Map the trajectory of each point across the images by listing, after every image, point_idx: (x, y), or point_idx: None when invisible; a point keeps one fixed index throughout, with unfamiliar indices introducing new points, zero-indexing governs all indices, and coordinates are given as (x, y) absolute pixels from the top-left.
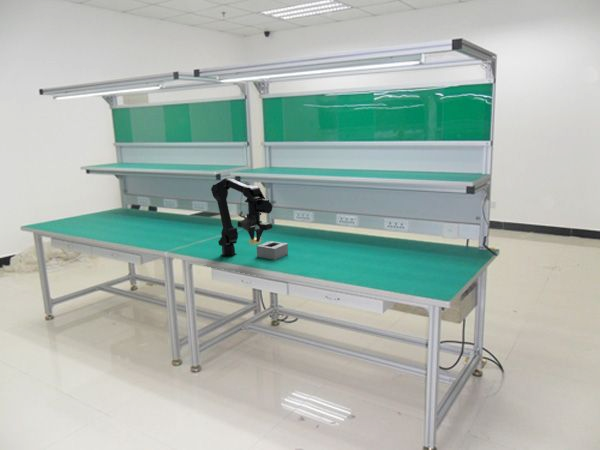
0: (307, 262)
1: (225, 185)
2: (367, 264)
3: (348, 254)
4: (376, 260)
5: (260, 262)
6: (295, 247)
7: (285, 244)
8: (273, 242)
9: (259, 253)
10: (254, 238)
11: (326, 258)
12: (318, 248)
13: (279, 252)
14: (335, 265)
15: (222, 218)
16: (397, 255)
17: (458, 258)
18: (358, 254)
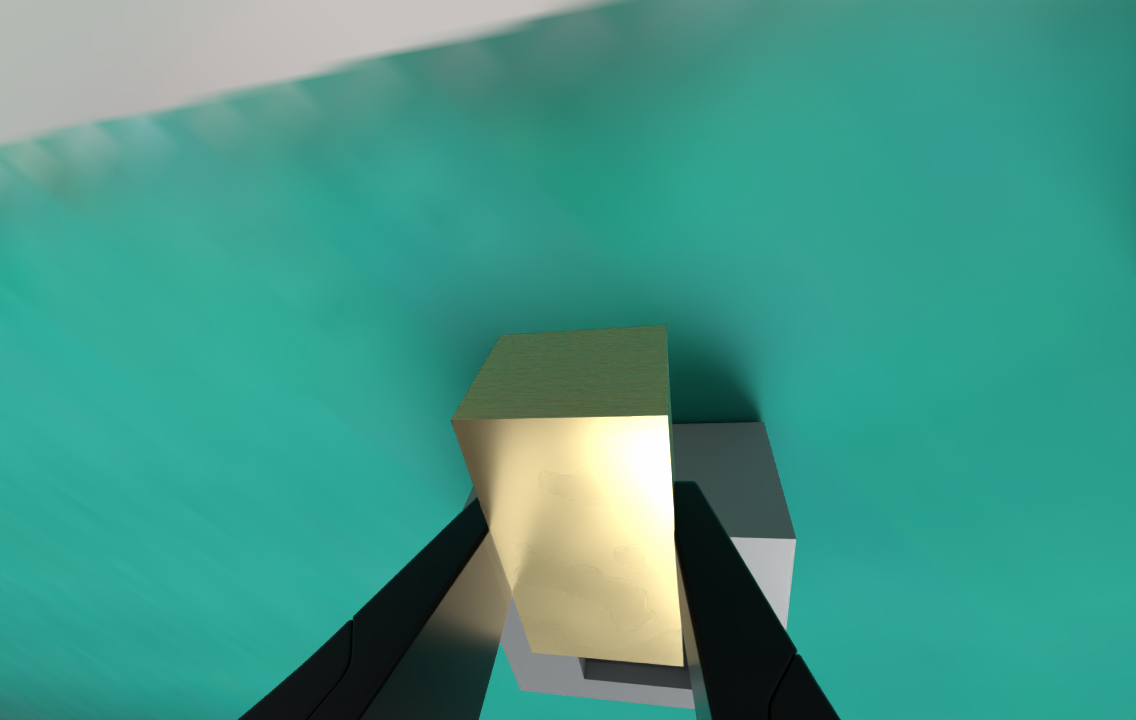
0: (261, 494)
1: None
2: (58, 586)
3: (277, 673)
4: (110, 640)
5: (564, 287)
6: None
7: (512, 668)
8: (691, 689)
9: (725, 455)
10: (610, 560)
11: (276, 596)
12: (495, 712)
13: None
14: (104, 517)
15: None
16: (147, 703)
17: (25, 716)
18: (249, 682)
